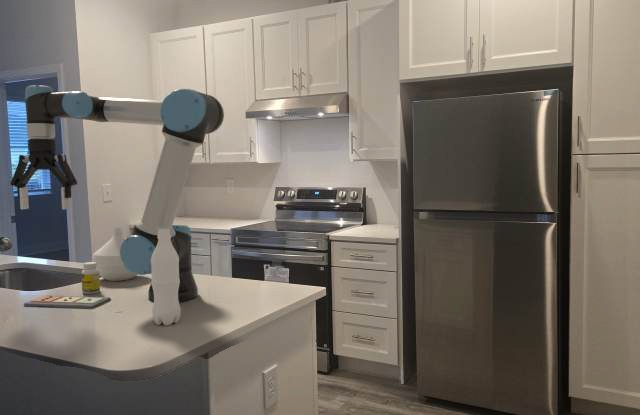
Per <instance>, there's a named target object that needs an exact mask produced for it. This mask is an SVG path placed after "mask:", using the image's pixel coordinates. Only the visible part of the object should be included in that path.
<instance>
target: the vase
mask: <svg viewBox="0 0 640 415" xmlns="http://www.w3.org/2000/svg"><path fill="white" fill-rule="evenodd" d="M126 238H127V237H125V236H124V233H123V226H114V227H113V235H112V237H111V238H110V240H108V241H106V242H105V243H104V245H102V246H101V247H100V248H99V249H97V250H96V251H95V252H94V253H93V254H92V260H91V262H96V263H97V267H96V269H98V270H99V277H102V279H104V280H106V281H109V282H119V281H127V280H131V279H133V278H135V277H136V276H137V274H134V273H132V272H130V271H129V270H128V269H127V268H126V267H125V266H124V263H123V262H122V260H121V257H120V247H121V244H122V242H123V241H124V240H125V239H126Z"/></svg>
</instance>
